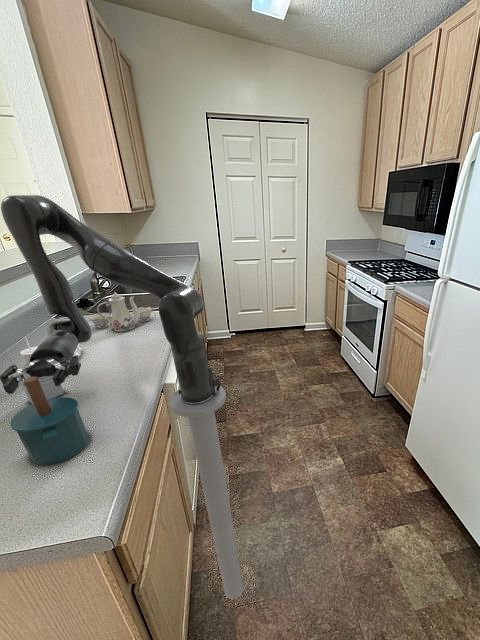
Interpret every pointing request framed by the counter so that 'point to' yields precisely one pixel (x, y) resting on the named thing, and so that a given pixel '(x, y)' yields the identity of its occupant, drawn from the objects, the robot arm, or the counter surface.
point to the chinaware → (120, 315)
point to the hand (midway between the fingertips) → (32, 386)
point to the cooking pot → (56, 441)
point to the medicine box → (46, 388)
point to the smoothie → (28, 351)
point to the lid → (42, 409)
